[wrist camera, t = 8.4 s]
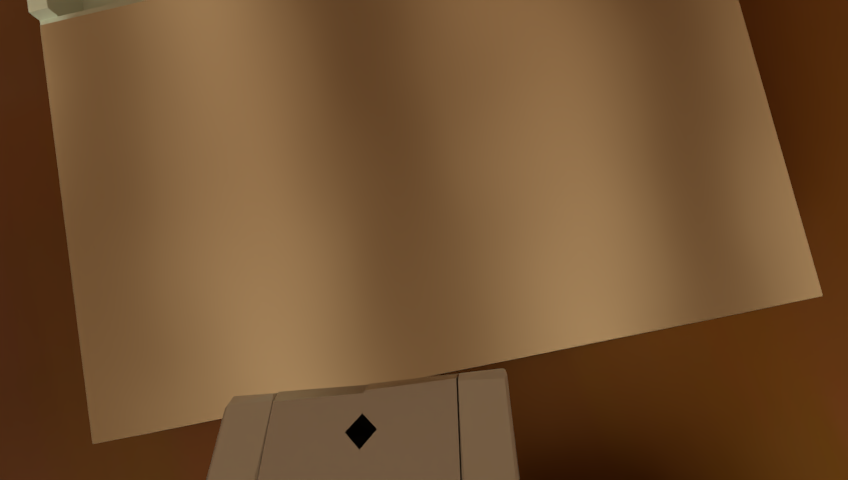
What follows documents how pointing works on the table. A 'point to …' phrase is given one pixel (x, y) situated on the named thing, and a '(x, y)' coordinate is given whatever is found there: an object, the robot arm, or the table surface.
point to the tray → (70, 8)
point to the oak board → (402, 189)
